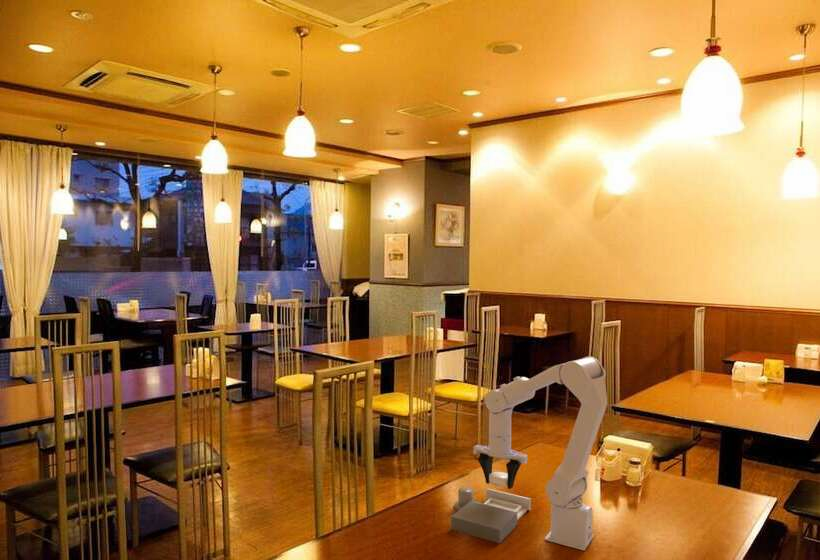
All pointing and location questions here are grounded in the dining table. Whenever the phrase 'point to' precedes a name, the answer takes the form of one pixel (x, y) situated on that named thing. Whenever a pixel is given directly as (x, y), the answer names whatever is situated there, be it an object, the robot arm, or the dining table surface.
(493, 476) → the beige rounded shape
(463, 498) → the grey cup
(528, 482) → the dining table surface
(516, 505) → the tray
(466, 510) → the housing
